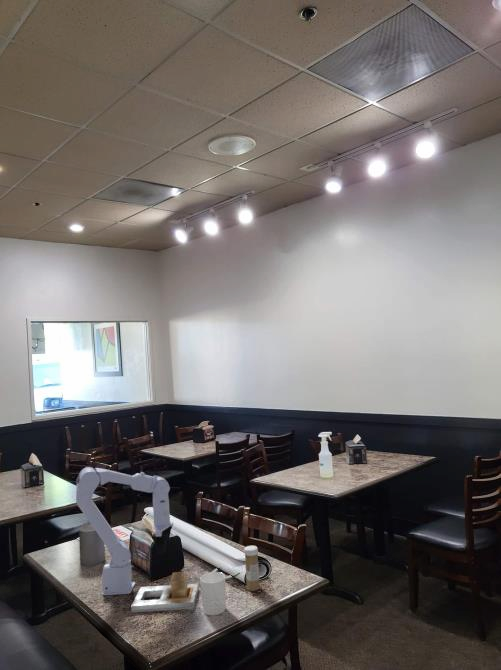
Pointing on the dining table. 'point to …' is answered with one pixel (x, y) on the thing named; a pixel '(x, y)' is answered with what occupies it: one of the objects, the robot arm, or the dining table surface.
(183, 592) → the peg
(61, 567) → the dining table surface
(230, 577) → the pliers
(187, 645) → the dining table surface
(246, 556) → the sprinkles bottle
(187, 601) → the socket board
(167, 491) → the robot arm
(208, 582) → the white cup
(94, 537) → the pillar candle
